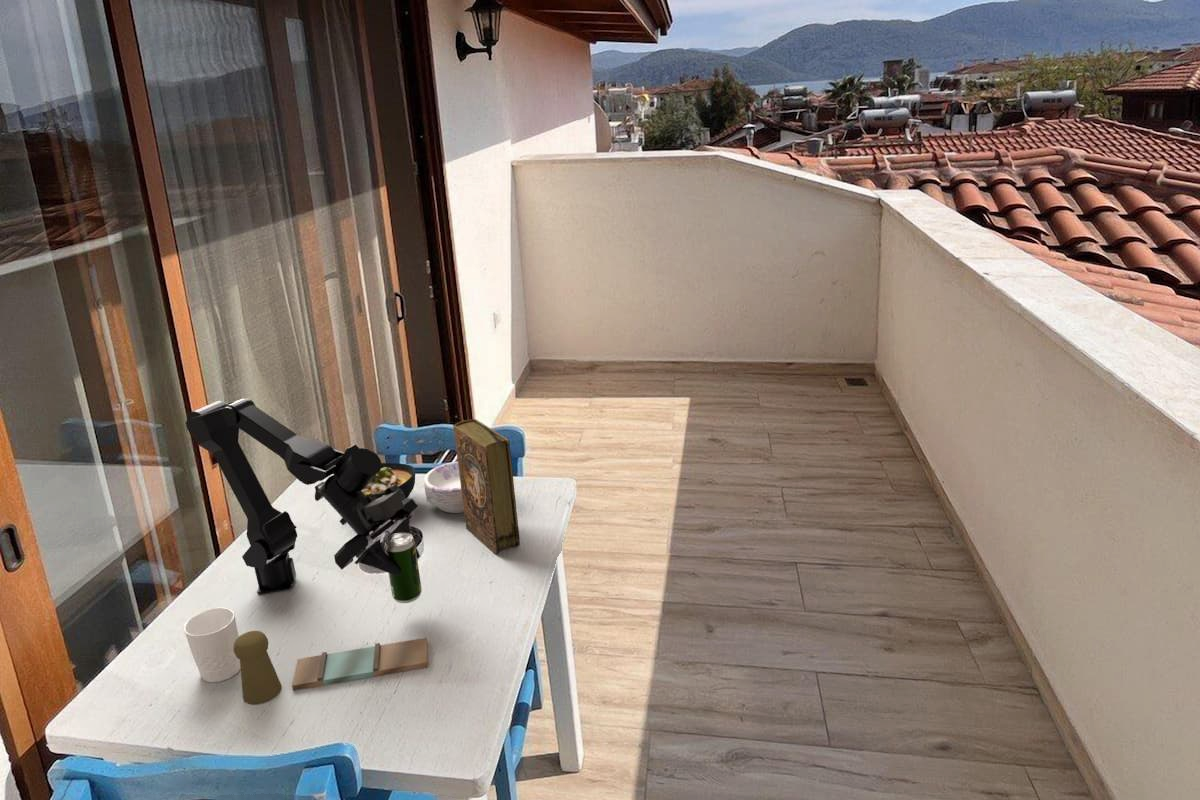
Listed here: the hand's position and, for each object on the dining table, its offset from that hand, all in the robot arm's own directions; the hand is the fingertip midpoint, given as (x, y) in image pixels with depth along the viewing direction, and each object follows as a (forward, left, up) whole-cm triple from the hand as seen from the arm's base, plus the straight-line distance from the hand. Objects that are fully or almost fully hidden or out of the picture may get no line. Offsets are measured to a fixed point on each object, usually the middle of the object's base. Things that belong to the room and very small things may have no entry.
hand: (409, 566), depth 149 cm
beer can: (-1, +1, -7) cm, 7 cm away
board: (-9, -12, -11) cm, 18 cm away
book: (+16, +26, -11) cm, 32 cm away
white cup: (-33, -6, -11) cm, 36 cm away
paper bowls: (+10, +44, -11) cm, 46 cm away
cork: (-25, -14, -11) cm, 31 cm away
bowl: (-8, +47, -11) cm, 49 cm away
